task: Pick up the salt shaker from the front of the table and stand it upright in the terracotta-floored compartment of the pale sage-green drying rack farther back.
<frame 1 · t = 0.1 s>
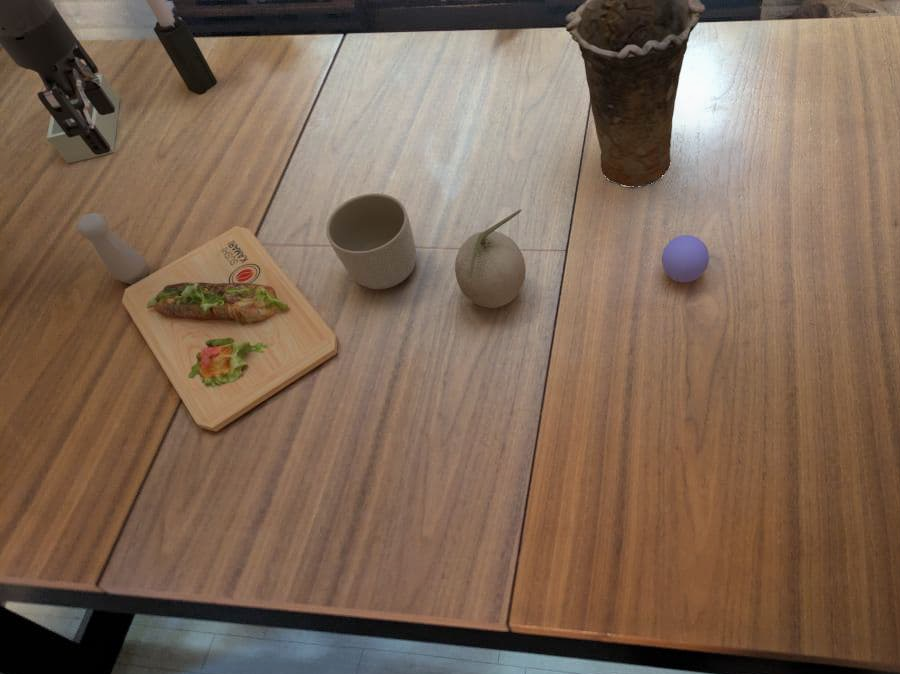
hand: (106, 131, 96), 28 cm above the table, tool pointing down, fingers open, 8 cm apart
salt shaker: (137, 276, 120), on the table
cutting board: (230, 324, 113), on the table
fruit: (495, 297, 111), on the table
vase: (630, 163, 123), on the table
planter: (386, 271, 116), on the table
sphere: (683, 275, 109), on the table
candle: (203, 85, 147), on the table
rack: (94, 130, 142), on the table
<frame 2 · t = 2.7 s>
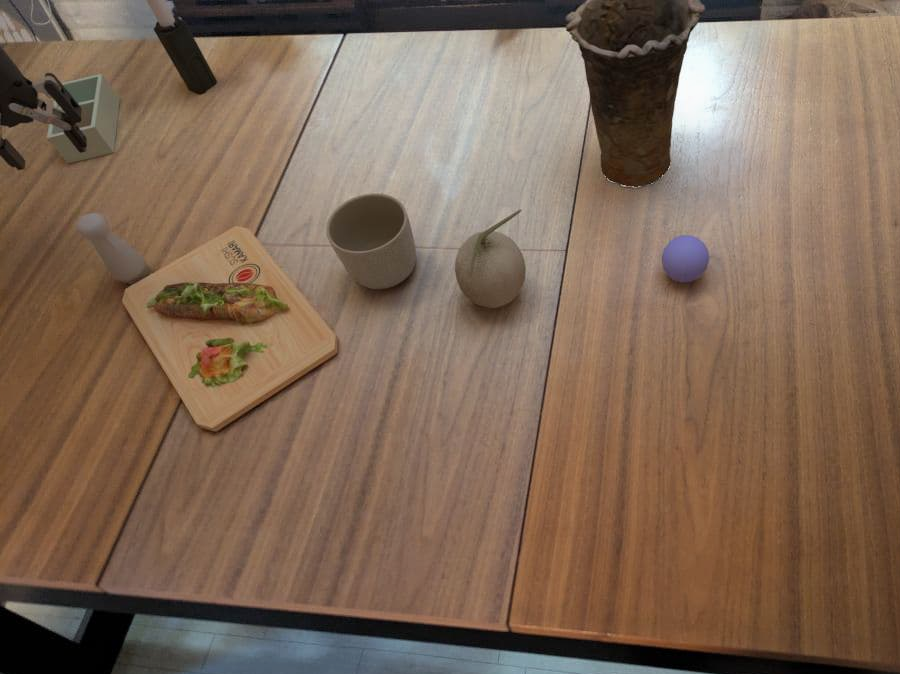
hand: (53, 157, 99), 25 cm above the table, tool pointing down, fingers open, 8 cm apart
nothing on the table moved.
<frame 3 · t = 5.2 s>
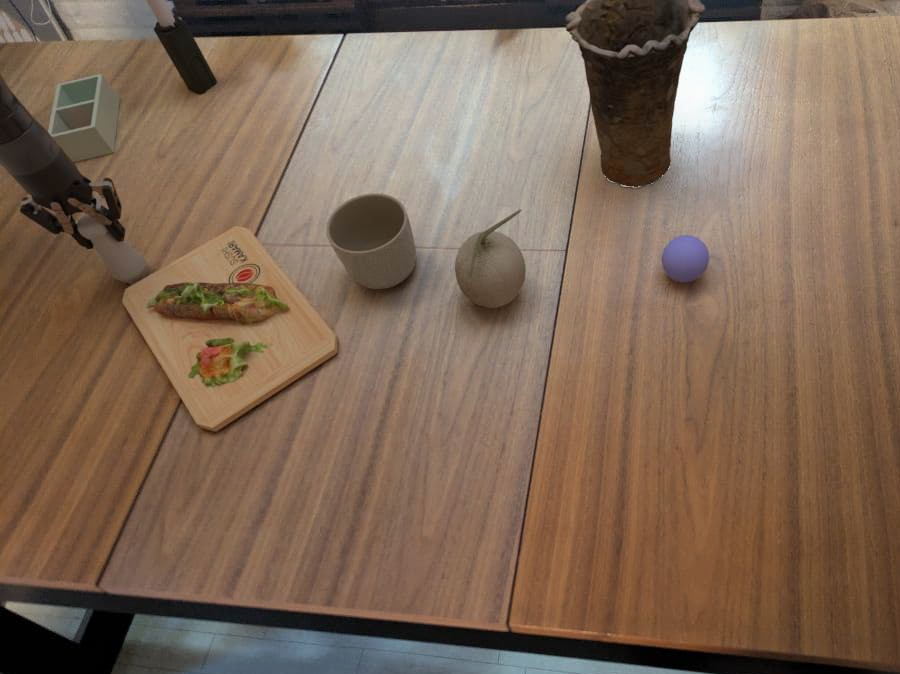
hand: (106, 241, 113), 8 cm above the table, tool pointing down, fingers closed on salt shaker, 4 cm apart
salt shaker: (137, 276, 120), on the table, touching gripper
everything else where it was.
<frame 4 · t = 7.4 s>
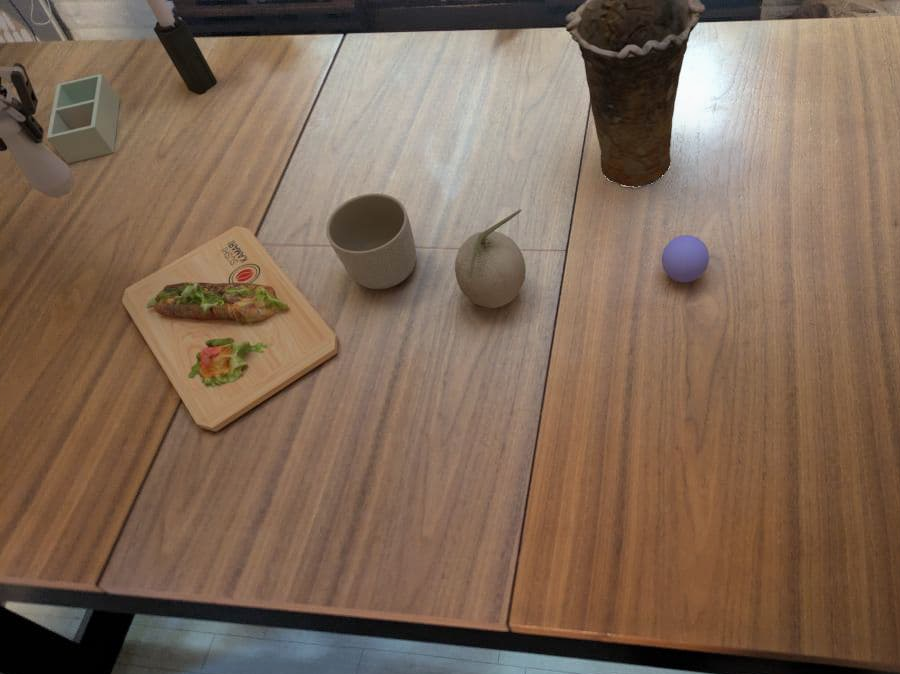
hand: (22, 143, 100), 26 cm above the table, tool pointing down, fingers closed on salt shaker, 4 cm apart
salt shaker: (61, 189, 107), point 17 cm above the table, touching gripper
everything else where it was.
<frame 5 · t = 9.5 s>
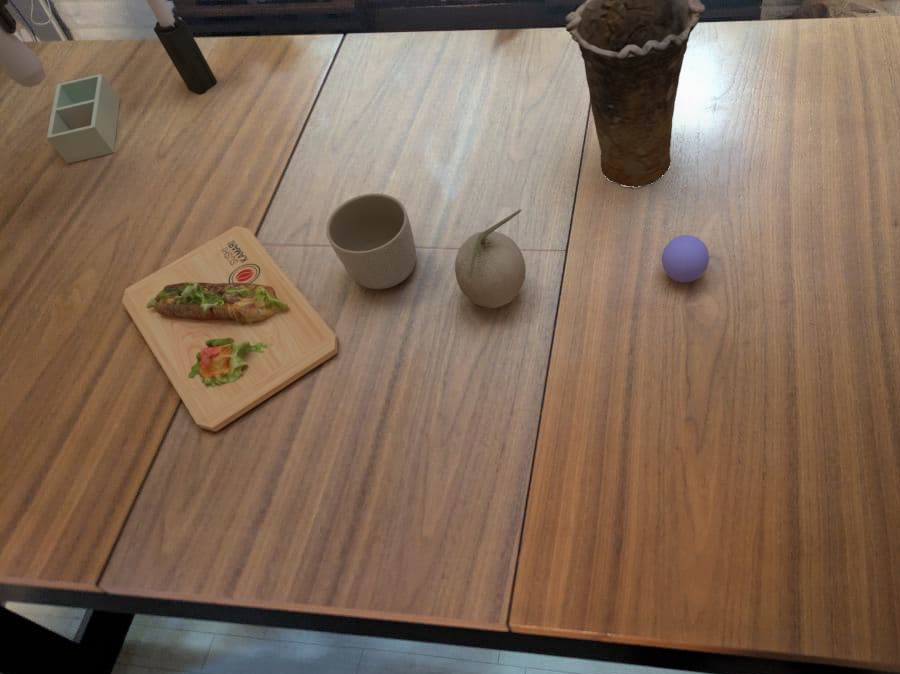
salt shaker: (34, 81, 122), point 18 cm above the table, touching gripper
everything else where it was.
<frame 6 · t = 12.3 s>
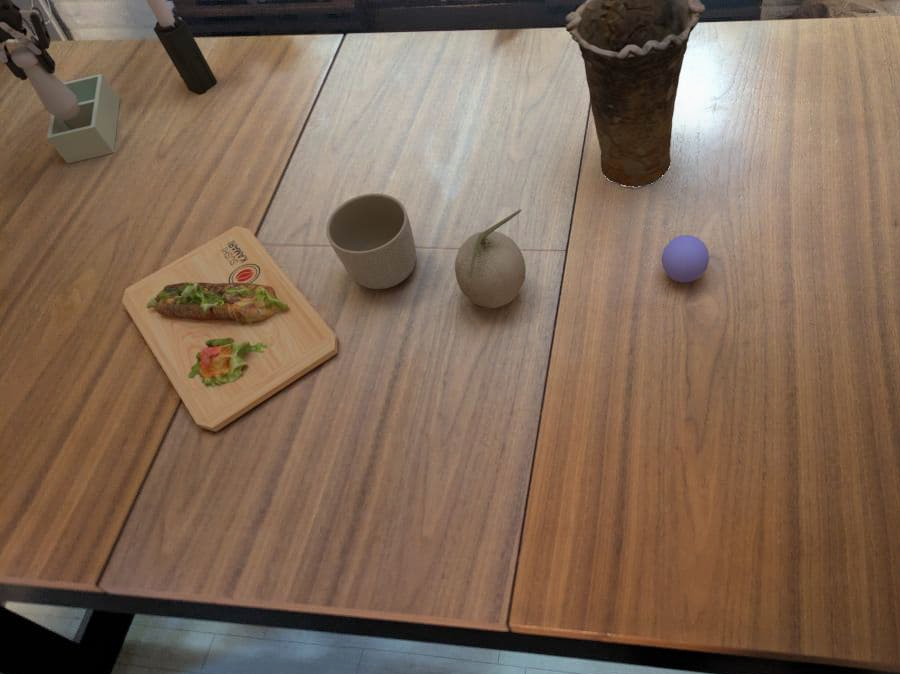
hand: (38, 73, 127), 15 cm above the table, tool pointing down, fingers closed on salt shaker, 4 cm apart
salt shaker: (69, 114, 135), point 7 cm above the table, touching gripper
everything else where it was.
when the fingers open (9 cm above the table, at t = 14.1 s): salt shaker stays where it is, resting on rack.
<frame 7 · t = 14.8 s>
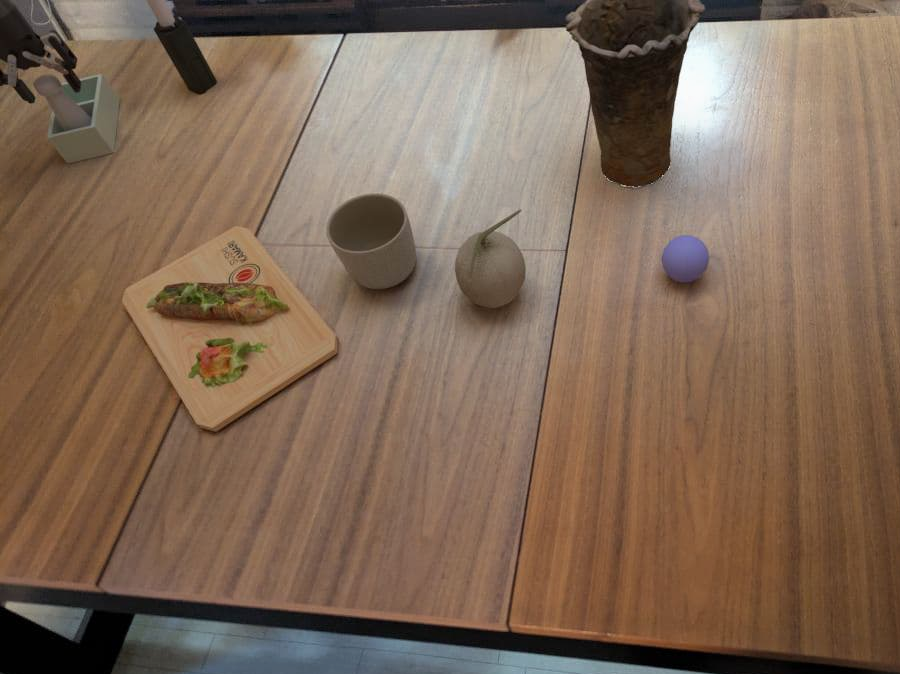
hand: (55, 95, 131), 11 cm above the table, tool pointing down, fingers open, 8 cm apart
salt shaker: (89, 139, 139), point 1 cm above the table, touching rack
everything else where it was.
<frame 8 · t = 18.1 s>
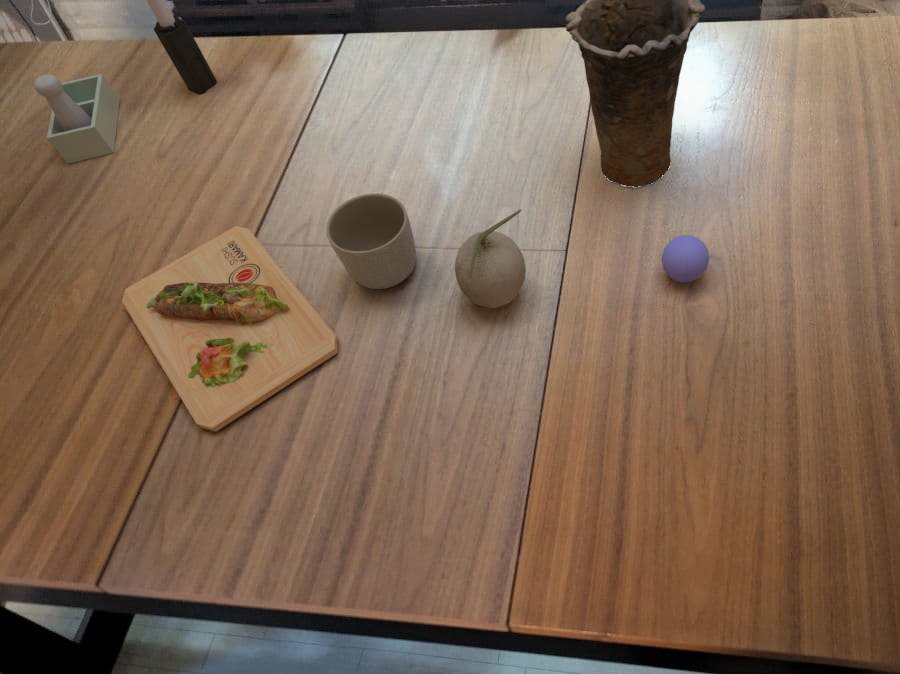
nothing on the table moved.
at the end: salt shaker 0.1 cm from the target spot in the rack, point 1.0 cm above the rack's base; salt shaker tilted 0°; the gripper is holding nothing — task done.
